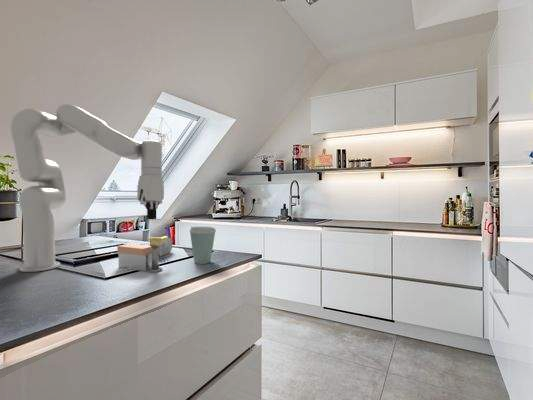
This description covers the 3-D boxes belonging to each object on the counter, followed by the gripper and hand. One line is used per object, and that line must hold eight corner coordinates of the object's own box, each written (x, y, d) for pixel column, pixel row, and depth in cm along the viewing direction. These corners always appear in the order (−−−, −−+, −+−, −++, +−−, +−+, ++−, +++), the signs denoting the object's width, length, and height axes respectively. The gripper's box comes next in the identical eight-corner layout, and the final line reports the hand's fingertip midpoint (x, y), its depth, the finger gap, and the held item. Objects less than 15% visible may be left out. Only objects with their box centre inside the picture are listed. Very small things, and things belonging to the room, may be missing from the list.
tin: (167, 251, 148) (167, 234, 148) (173, 251, 148) (173, 234, 147) (151, 258, 133) (151, 239, 133) (158, 259, 133) (158, 239, 132)
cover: (117, 252, 117) (117, 246, 117) (130, 249, 123) (130, 243, 123) (142, 255, 112) (142, 248, 112) (154, 252, 117) (154, 245, 117)
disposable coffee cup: (197, 258, 133) (197, 224, 133) (220, 260, 130) (220, 225, 130) (184, 264, 123) (184, 227, 122) (209, 266, 120) (208, 228, 120)
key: (161, 241, 123) (161, 233, 122) (171, 241, 122) (171, 234, 122) (146, 246, 112) (146, 238, 112) (158, 246, 111) (158, 238, 111)
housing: (118, 267, 118) (117, 243, 118) (128, 264, 123) (128, 241, 122) (155, 272, 111) (155, 247, 110) (165, 269, 115) (164, 245, 115)
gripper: (157, 173, 128) (157, 217, 129) (129, 171, 114) (129, 220, 115) (172, 173, 125) (172, 217, 126) (144, 171, 111) (144, 221, 112)
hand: (151, 218), depth 120 cm, fingers closed
